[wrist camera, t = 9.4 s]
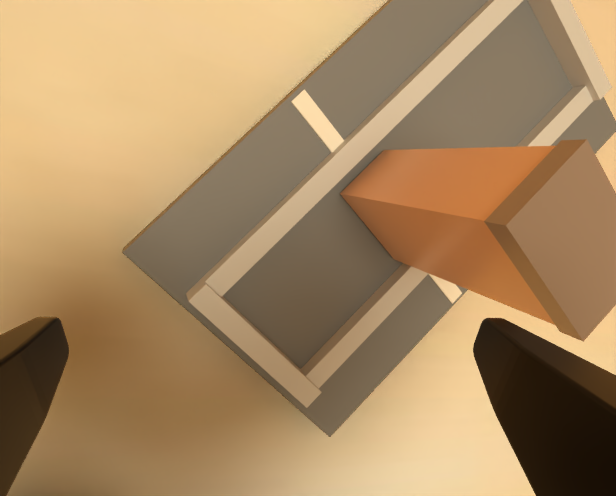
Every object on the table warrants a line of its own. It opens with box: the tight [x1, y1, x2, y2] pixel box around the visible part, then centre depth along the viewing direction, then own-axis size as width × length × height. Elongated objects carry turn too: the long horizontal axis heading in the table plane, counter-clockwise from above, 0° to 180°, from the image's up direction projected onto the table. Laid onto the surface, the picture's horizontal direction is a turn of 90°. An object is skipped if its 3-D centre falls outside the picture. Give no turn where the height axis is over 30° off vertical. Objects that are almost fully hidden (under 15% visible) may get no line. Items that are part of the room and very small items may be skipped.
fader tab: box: [340, 139, 616, 341], centre depth 18 cm, size 3×5×11 cm
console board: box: [123, 0, 616, 437], centre depth 23 cm, size 24×14×2 cm, turn 132°
